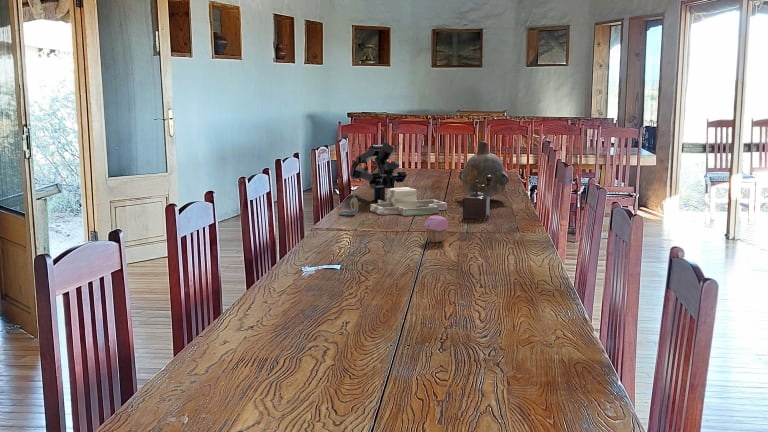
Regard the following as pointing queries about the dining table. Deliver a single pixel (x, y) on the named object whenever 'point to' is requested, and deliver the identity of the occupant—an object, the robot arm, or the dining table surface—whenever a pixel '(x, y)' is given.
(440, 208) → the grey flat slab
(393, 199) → the birch block
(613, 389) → the dining table surface
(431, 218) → the cupcake
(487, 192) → the jug
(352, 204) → the pocket watch
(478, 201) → the manual coffee grinder
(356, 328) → the dining table surface
